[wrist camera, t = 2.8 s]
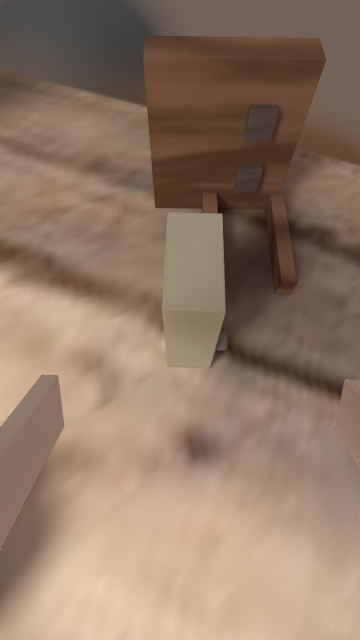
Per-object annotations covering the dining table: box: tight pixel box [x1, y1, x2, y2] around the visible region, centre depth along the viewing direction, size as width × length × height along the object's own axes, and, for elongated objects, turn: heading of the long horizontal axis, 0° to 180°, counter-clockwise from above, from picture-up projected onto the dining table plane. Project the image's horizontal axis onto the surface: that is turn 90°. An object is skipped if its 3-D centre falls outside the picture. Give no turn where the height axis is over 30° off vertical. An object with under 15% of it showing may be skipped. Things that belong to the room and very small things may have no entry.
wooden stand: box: [143, 36, 326, 294], centre depth 32 cm, size 14×14×16 cm
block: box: [162, 212, 228, 368], centre depth 29 cm, size 8×5×12 cm, turn 178°
